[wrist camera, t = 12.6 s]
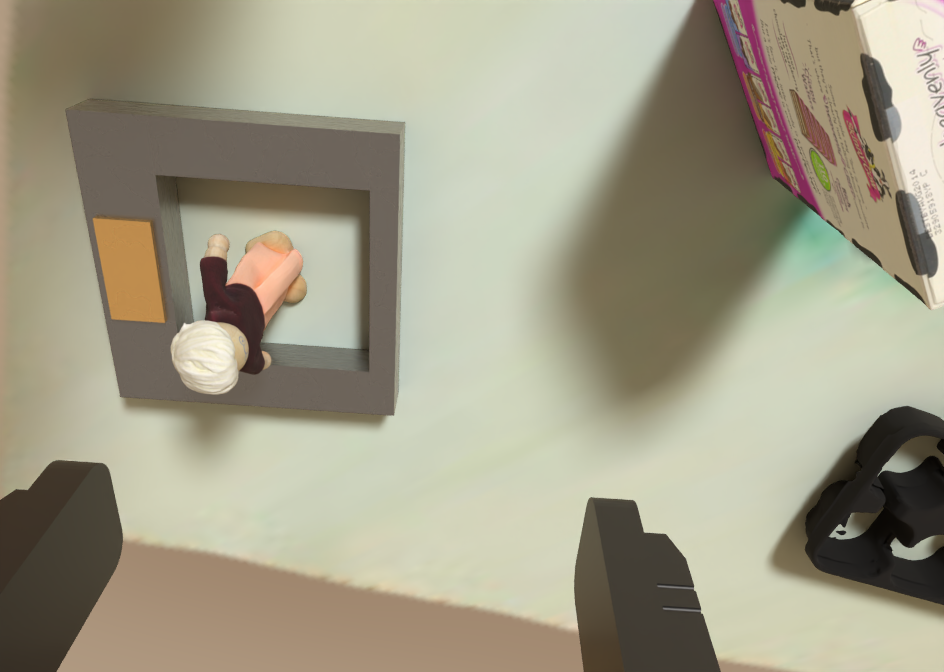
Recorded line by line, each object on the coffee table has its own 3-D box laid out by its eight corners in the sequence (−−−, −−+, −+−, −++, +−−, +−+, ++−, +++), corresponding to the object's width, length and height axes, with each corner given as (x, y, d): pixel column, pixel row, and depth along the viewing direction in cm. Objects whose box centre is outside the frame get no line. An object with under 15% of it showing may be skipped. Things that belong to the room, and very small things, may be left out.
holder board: (89, 98, 39) (62, 110, 36) (405, 122, 39) (399, 135, 37) (137, 374, 47) (118, 399, 45) (398, 392, 47) (393, 418, 45)
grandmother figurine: (333, 304, 44) (282, 431, 33) (277, 324, 45) (208, 454, 34) (271, 187, 41) (191, 285, 30) (211, 211, 42) (110, 315, 31)
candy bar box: (864, 136, 39) (1083, 260, 25) (770, 179, 40) (926, 321, 26) (805, -81, 34) (1033, -83, 20) (701, -25, 35) (845, 11, 21)
